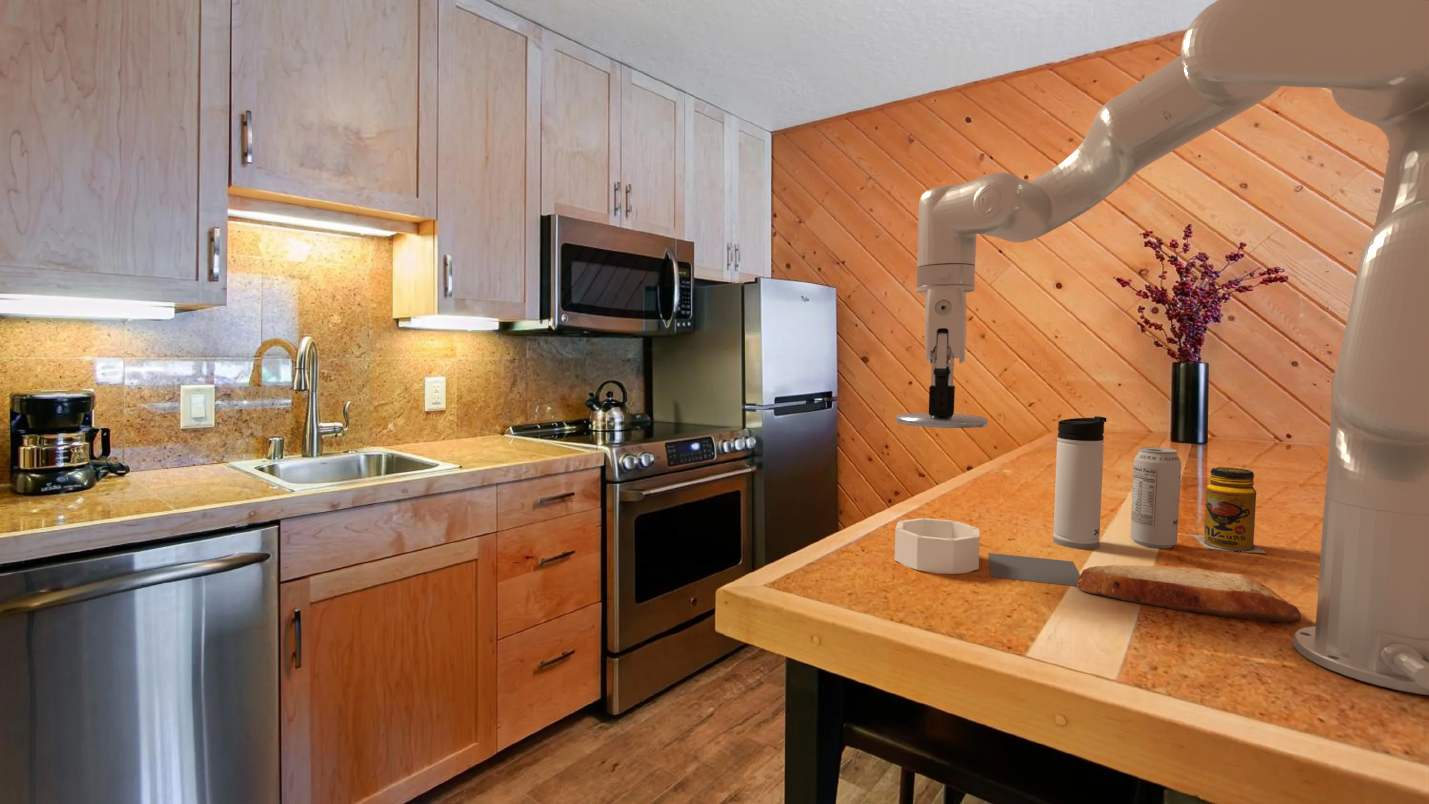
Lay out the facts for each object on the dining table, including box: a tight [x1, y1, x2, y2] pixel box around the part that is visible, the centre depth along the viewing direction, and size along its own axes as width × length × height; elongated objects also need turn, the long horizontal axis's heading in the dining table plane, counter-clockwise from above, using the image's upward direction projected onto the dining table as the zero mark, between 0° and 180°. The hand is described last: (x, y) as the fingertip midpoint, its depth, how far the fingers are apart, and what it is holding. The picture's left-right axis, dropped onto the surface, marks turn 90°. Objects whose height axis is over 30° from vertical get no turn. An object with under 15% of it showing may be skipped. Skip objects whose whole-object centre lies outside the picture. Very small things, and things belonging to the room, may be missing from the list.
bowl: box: [894, 517, 981, 575], centre depth 93 cm, size 11×11×5 cm
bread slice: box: [1076, 564, 1302, 623], centre depth 79 cm, size 18×18×4 cm
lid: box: [895, 382, 989, 429], centre depth 92 cm, size 12×12×6 cm
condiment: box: [1191, 466, 1268, 555], centre depth 102 cm, size 7×8×12 cm
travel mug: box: [1052, 415, 1107, 550], centre depth 102 cm, size 6×7×20 cm
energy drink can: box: [1129, 446, 1182, 549], centre depth 102 cm, size 6×6×15 cm
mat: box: [988, 552, 1081, 588], centre depth 90 cm, size 11×11×1 cm
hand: (941, 413), depth 92 cm, fingers closed on lid, 2 cm apart
